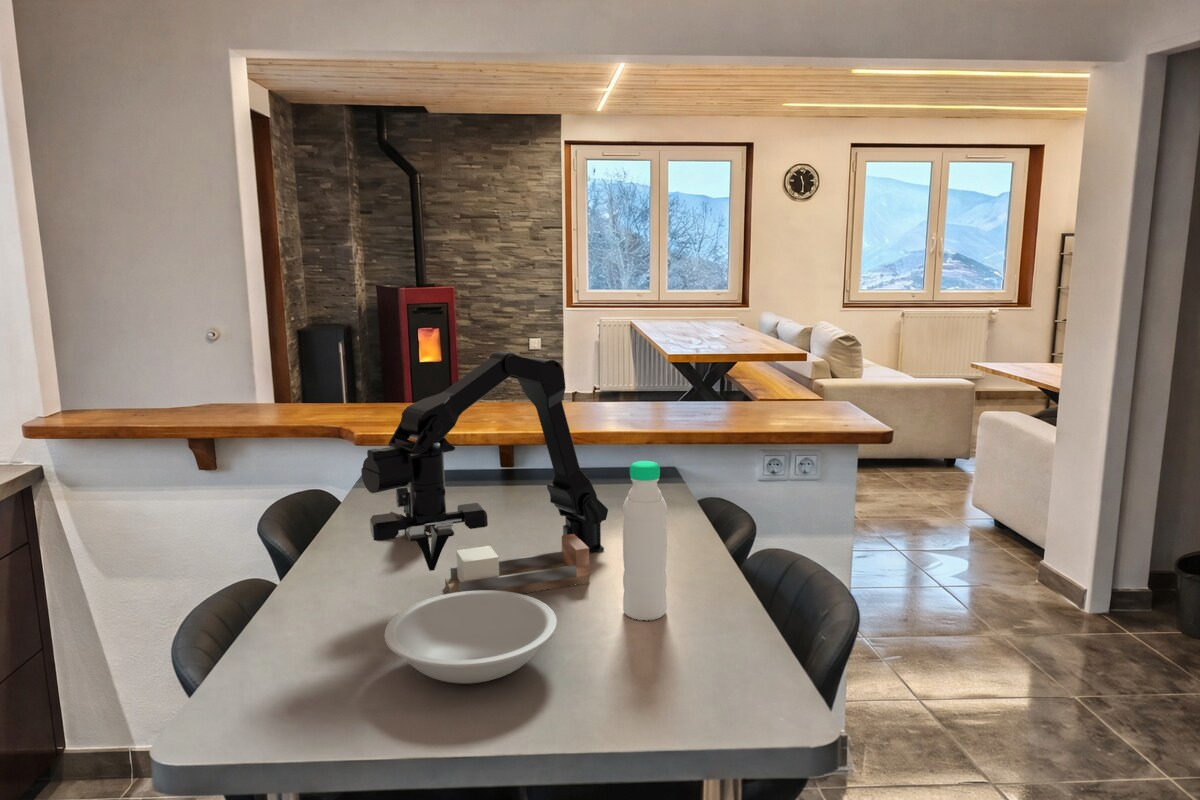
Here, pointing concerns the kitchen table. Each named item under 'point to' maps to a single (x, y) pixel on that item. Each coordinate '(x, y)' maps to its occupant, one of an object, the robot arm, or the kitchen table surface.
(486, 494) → the kitchen table surface
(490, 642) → the soup bowl
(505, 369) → the robot arm
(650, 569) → the water bottle
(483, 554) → the block
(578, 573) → the track
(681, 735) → the kitchen table surface
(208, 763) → the kitchen table surface
